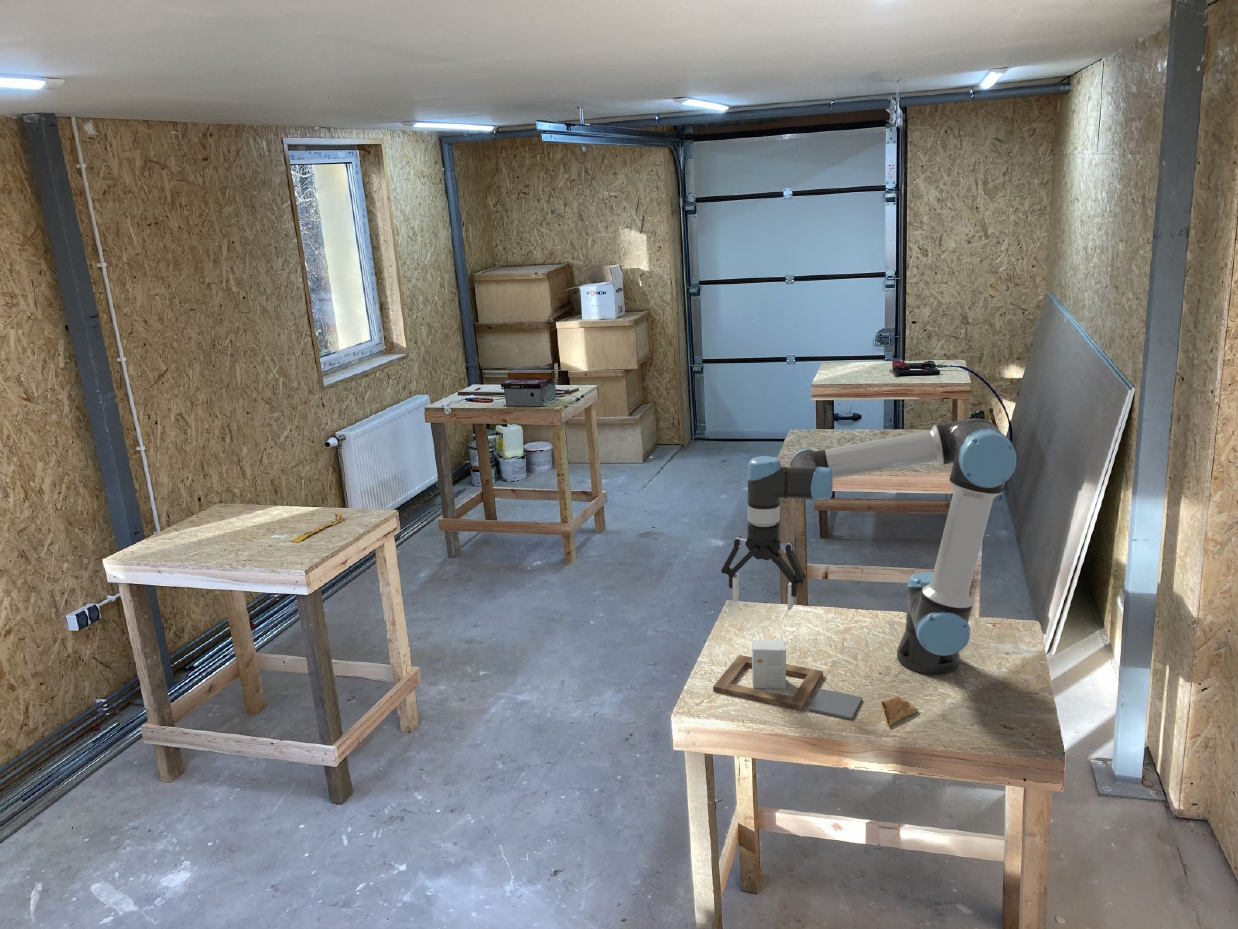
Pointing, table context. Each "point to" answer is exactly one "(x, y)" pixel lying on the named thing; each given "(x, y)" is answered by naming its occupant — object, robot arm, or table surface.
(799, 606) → the table surface
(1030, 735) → the table surface
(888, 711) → the shard
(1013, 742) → the table surface
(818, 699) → the pad
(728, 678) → the wooden picture frame
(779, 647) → the small box
